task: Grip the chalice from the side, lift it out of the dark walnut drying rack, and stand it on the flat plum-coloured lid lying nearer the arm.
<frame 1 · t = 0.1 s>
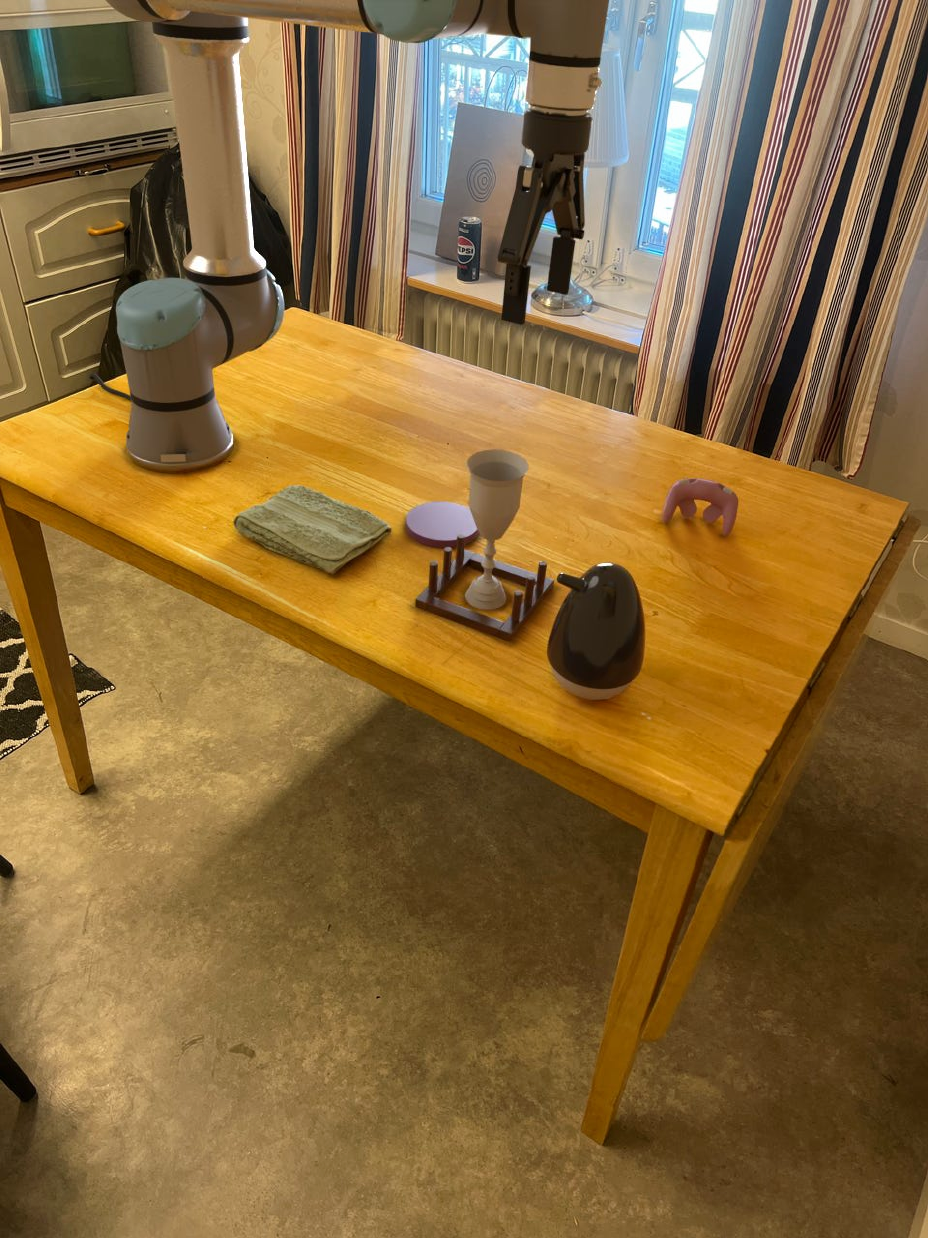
hand: (536, 306, 109), 28 cm above the table, tool pointing down, fingers open, 13 cm apart
drying rack: (485, 597, 108), on the table
washcloth: (313, 537, 117), on the table
lid: (442, 527, 120), on the table
pump dispenser: (587, 683, 97), on the table
video game controller: (696, 522, 125), on the table
chalice: (485, 598, 108), resting in drying rack
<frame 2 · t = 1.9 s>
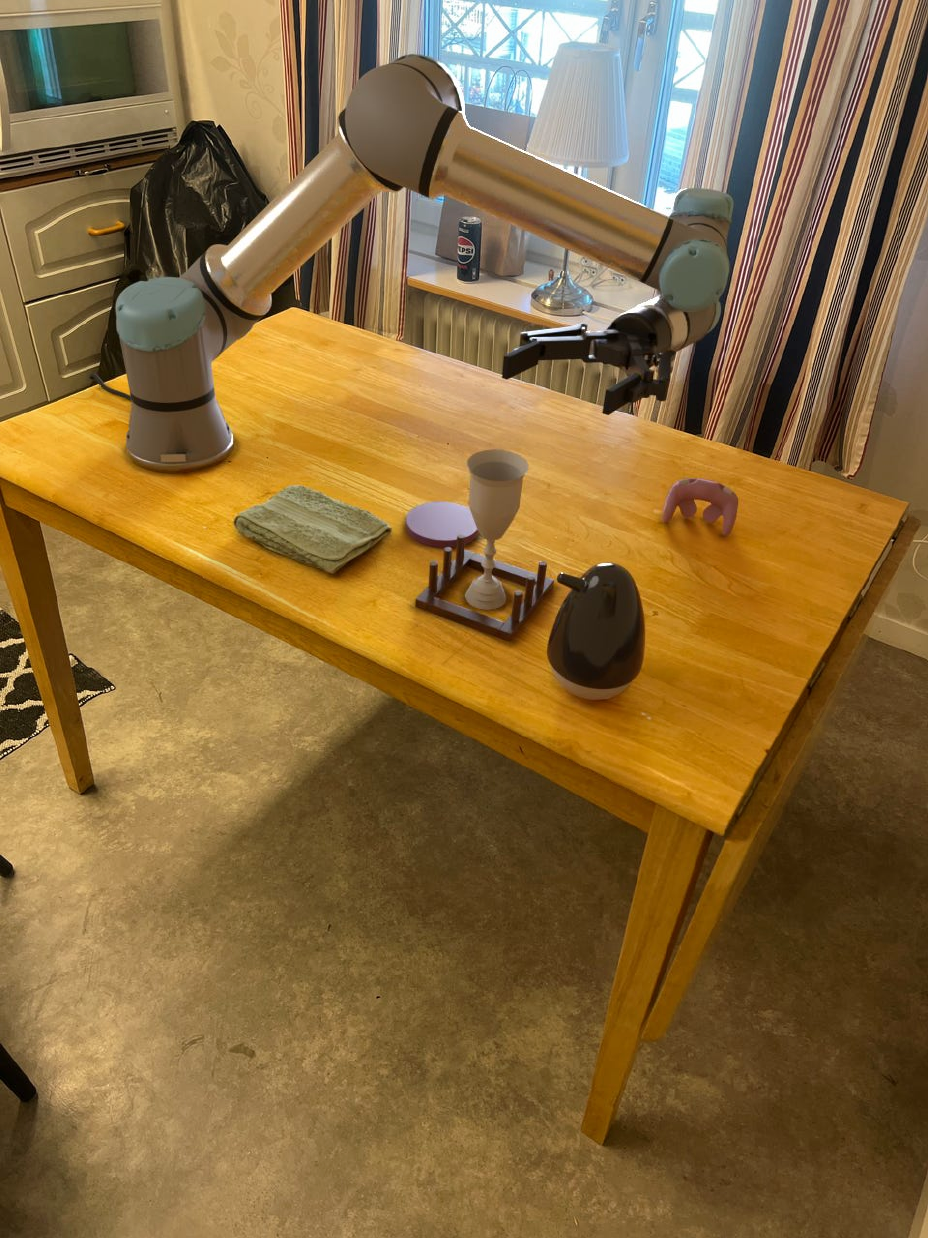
hand: (554, 384, 99), 24 cm above the table, tool horizontal, fingers open, 13 cm apart
nothing on the table moved.
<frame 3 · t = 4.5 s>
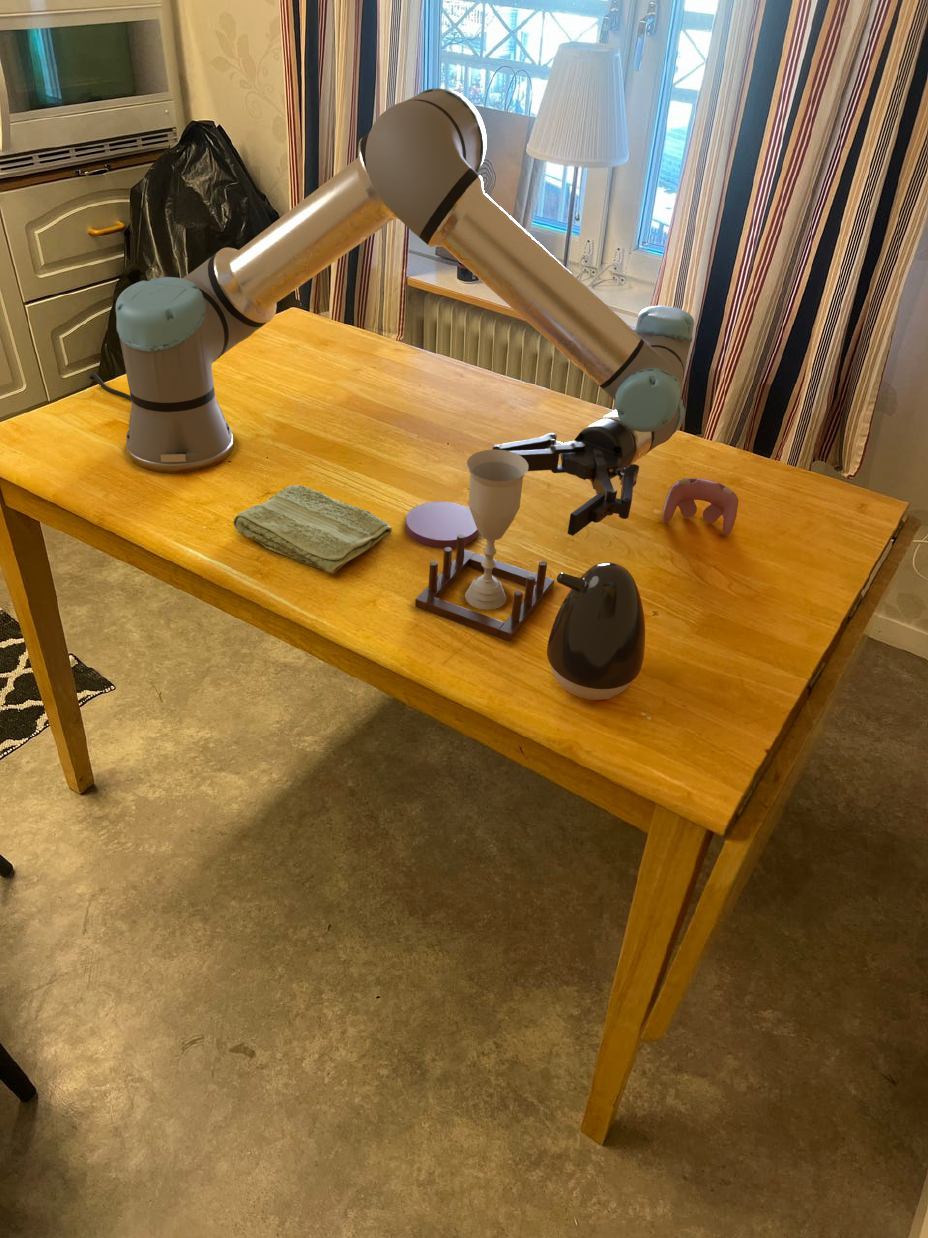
hand: (523, 504, 106), 10 cm above the table, tool horizontal, fingers open, 13 cm apart
nothing on the table moved.
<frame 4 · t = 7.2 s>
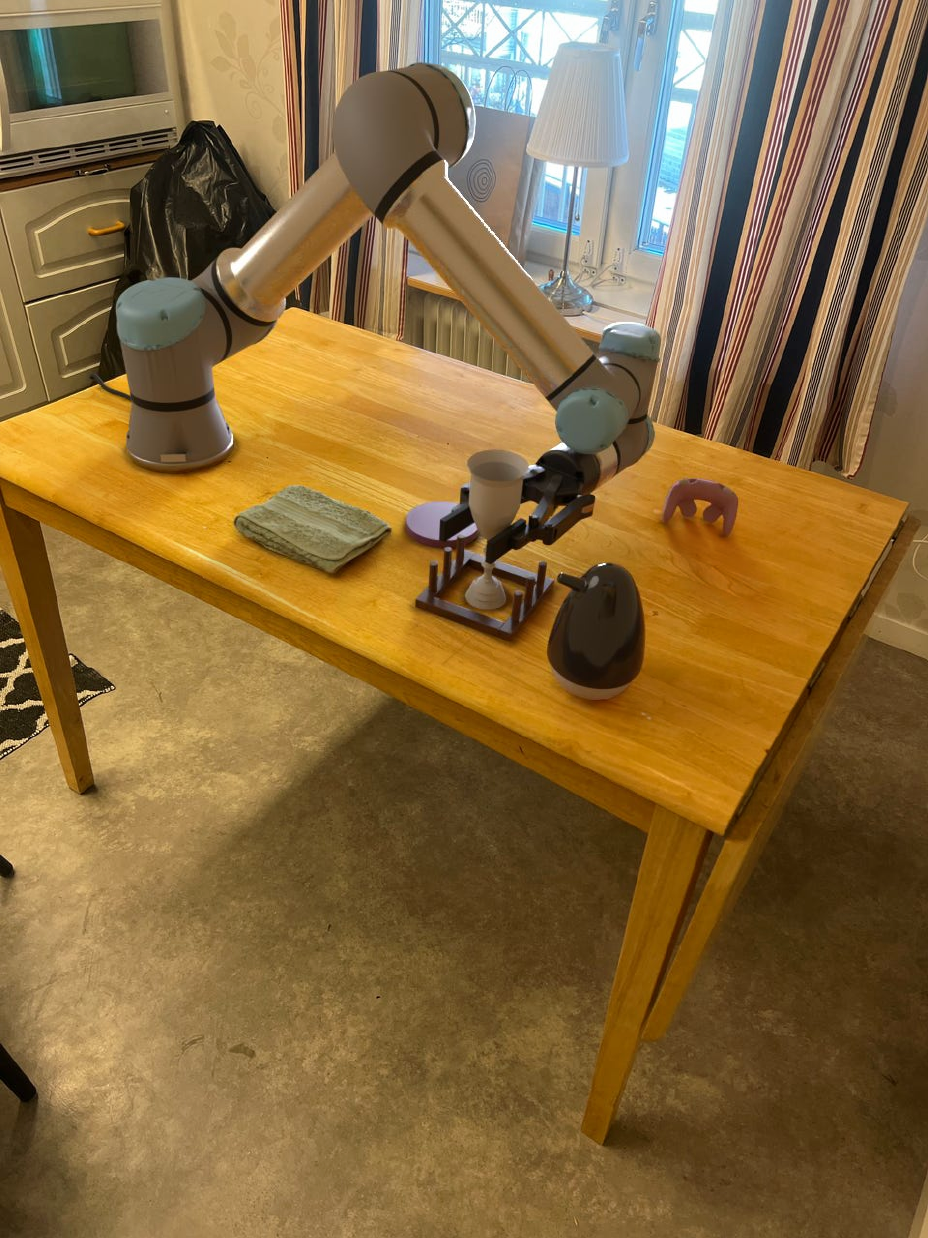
hand: (465, 541, 98), 10 cm above the table, tool horizontal, fingers closed on chalice, 6 cm apart
chalice: (485, 598, 108), resting in drying rack, touching gripper
everything else where it was.
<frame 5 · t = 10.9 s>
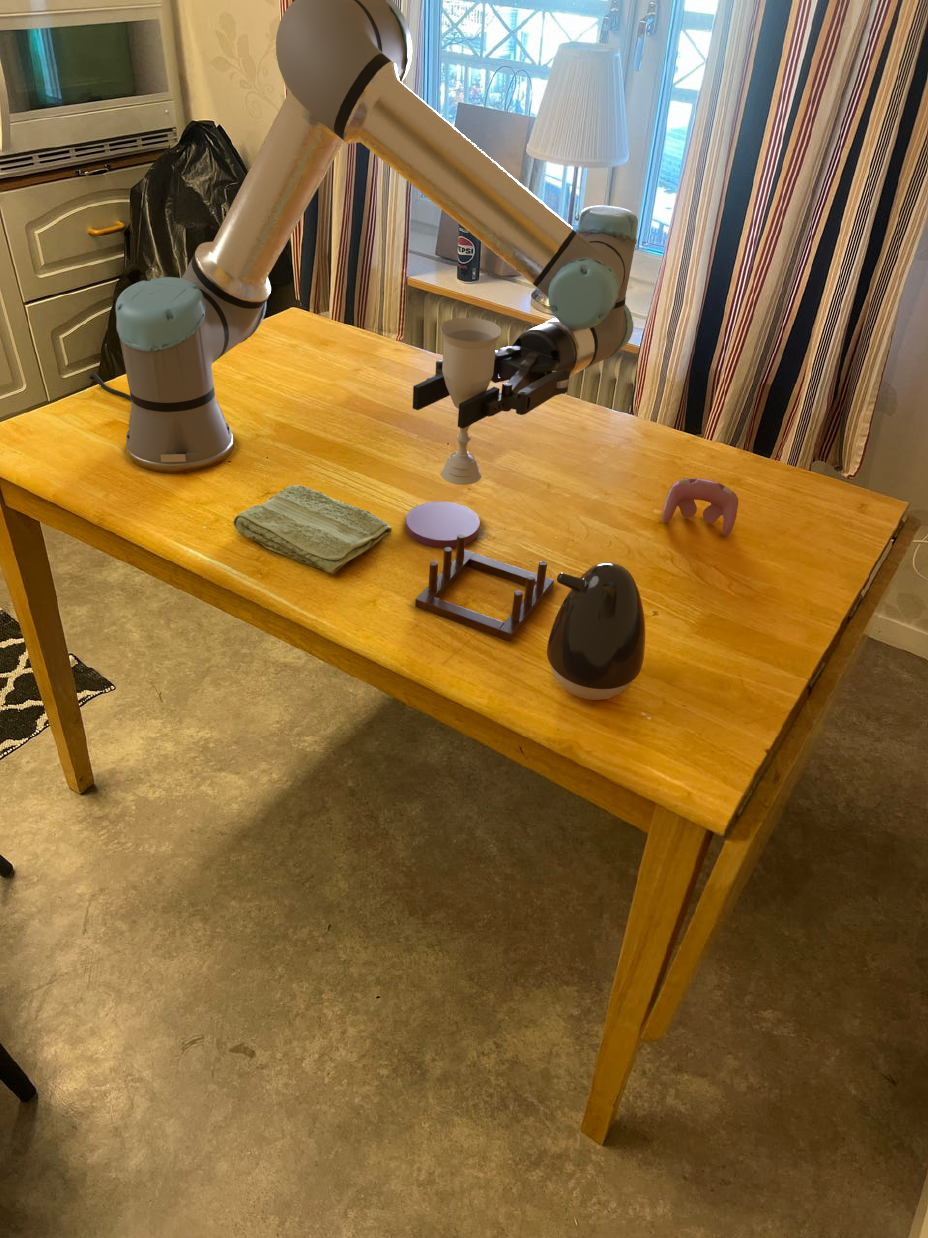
hand: (438, 406, 99), 22 cm above the table, tool horizontal, fingers closed on chalice, 6 cm apart
chalice: (461, 475, 109), point 11 cm above the table, touching gripper
everything else where it was.
when the fingers open (12 cm above the table, at t = 14.9 s): chalice stays where it is, resting on lid.
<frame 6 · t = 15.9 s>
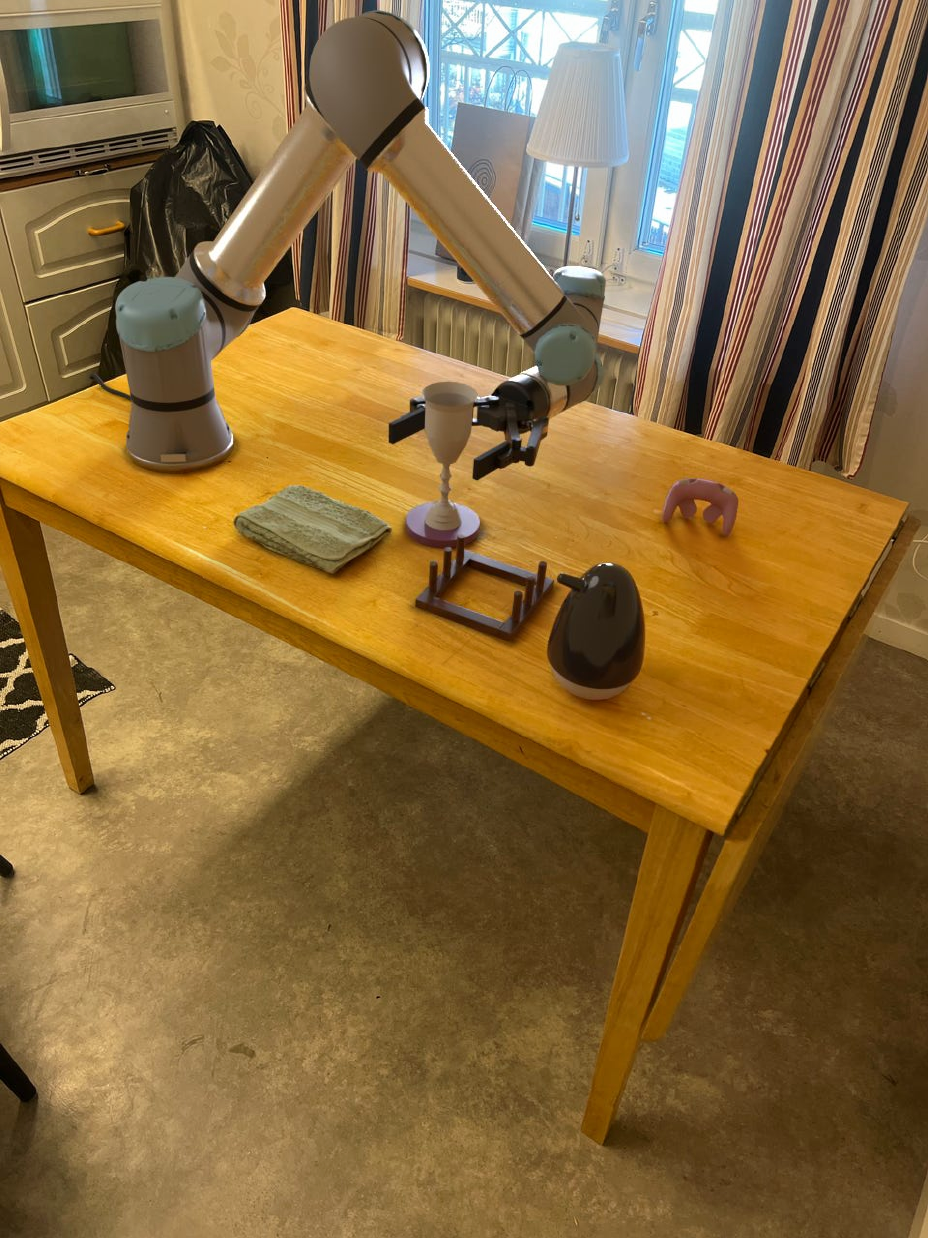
hand: (431, 451, 110), 13 cm above the table, tool horizontal, fingers open, 13 cm apart
chalice: (443, 521, 119), point 1 cm above the table, touching lid
everything else where it was.
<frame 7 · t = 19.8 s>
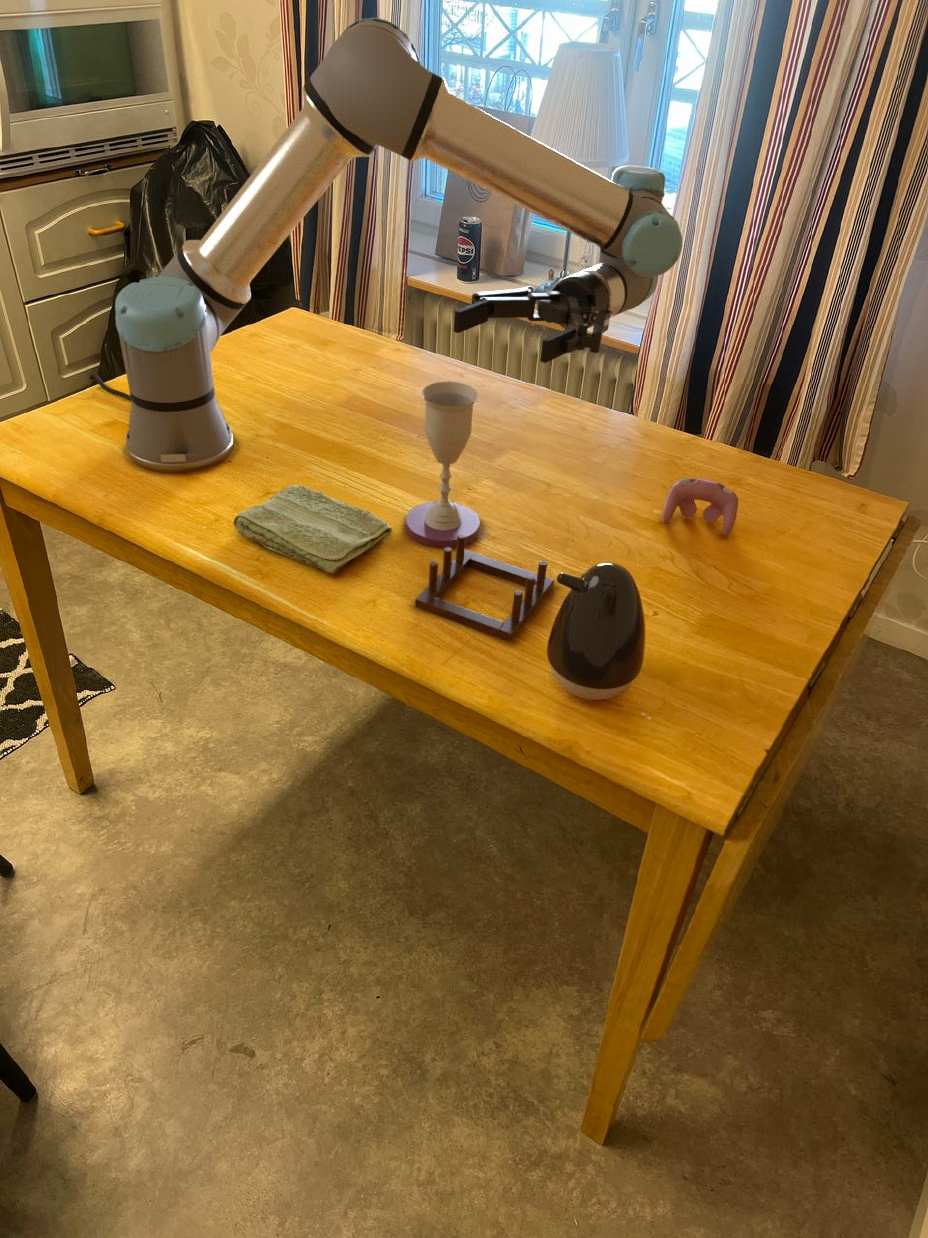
hand: (498, 336, 112), 24 cm above the table, tool horizontal, fingers open, 13 cm apart
nothing on the table moved.
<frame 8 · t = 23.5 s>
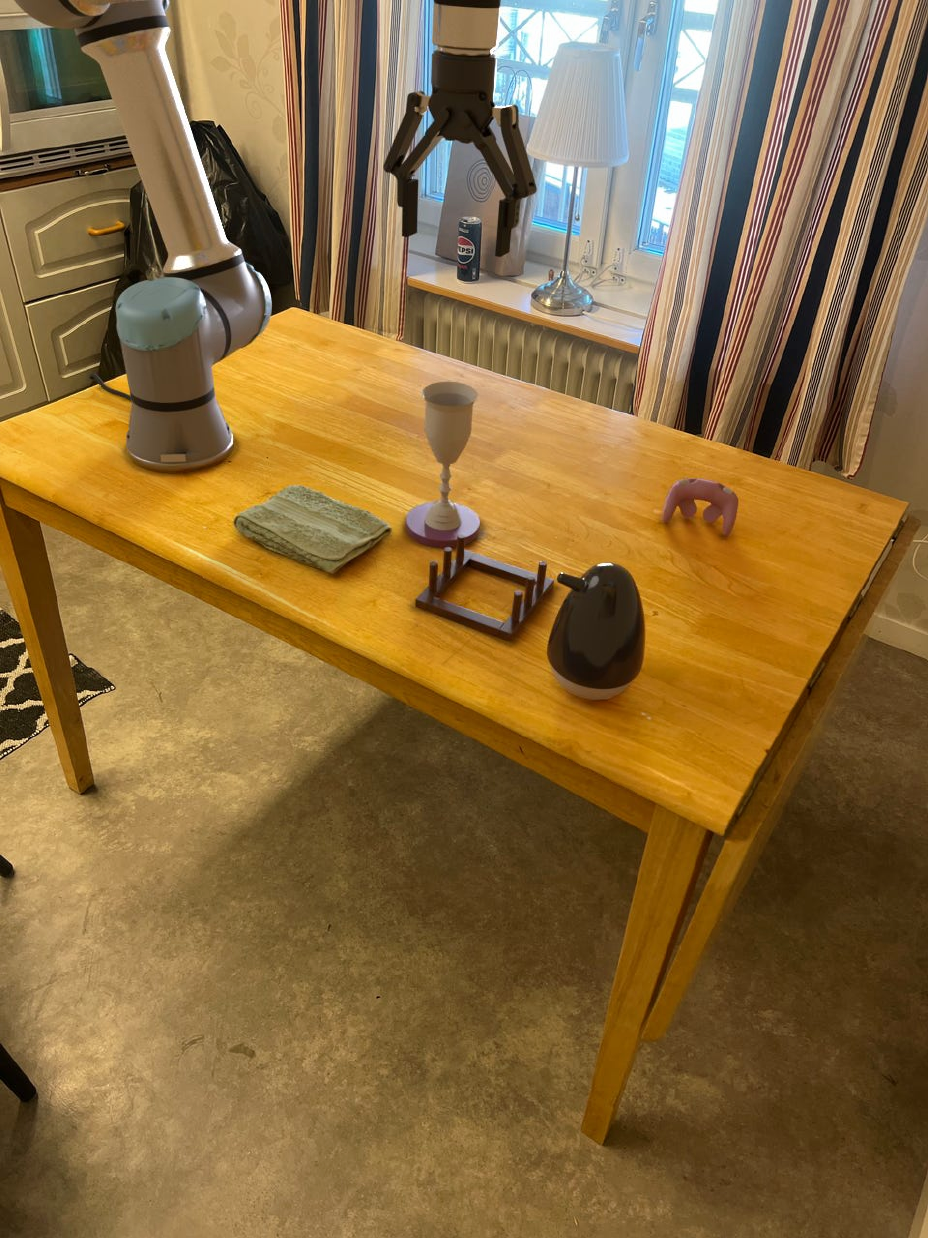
hand: (454, 244, 115), 32 cm above the table, tool pointing down, fingers open, 13 cm apart
nothing on the table moved.
at the end: chalice 0.1 cm off-centre on the lid, point 1.0 cm above the lid's base; chalice tilted 0°; the gripper is holding nothing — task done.
